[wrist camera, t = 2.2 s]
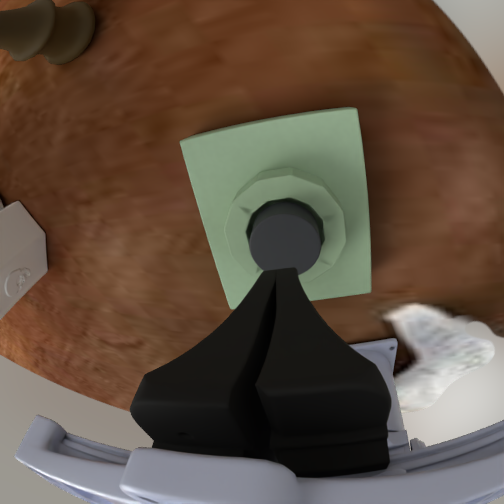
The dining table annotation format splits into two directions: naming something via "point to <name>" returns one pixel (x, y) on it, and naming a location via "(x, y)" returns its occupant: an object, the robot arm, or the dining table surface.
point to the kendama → (47, 31)
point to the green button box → (285, 195)
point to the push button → (285, 238)
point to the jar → (19, 254)
